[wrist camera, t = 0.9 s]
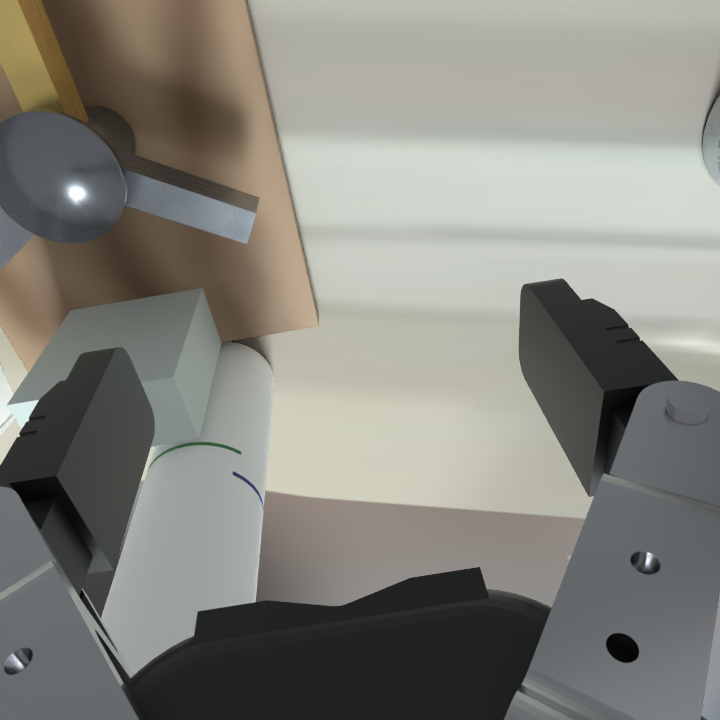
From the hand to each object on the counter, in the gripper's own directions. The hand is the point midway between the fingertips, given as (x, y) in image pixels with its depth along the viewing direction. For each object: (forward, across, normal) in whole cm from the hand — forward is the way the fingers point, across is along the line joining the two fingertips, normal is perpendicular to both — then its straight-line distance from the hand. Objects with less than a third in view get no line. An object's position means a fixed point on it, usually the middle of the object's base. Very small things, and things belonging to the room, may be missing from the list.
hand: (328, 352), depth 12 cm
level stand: (+26, +13, +12) cm, 31 cm away
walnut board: (+27, +13, +3) cm, 30 cm away
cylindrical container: (+27, +10, +19) cm, 34 cm away
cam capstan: (+25, +12, -2) cm, 28 cm away
